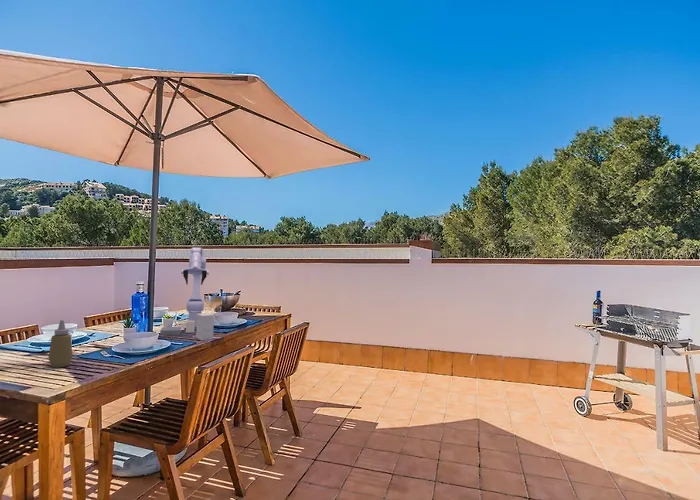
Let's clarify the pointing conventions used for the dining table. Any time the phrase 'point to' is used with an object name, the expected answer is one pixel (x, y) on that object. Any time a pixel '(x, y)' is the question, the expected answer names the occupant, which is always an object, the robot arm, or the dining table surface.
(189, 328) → the cream block
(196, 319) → the robot arm
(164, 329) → the slate base
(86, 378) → the dining table surface
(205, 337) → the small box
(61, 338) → the squeeze bottle
